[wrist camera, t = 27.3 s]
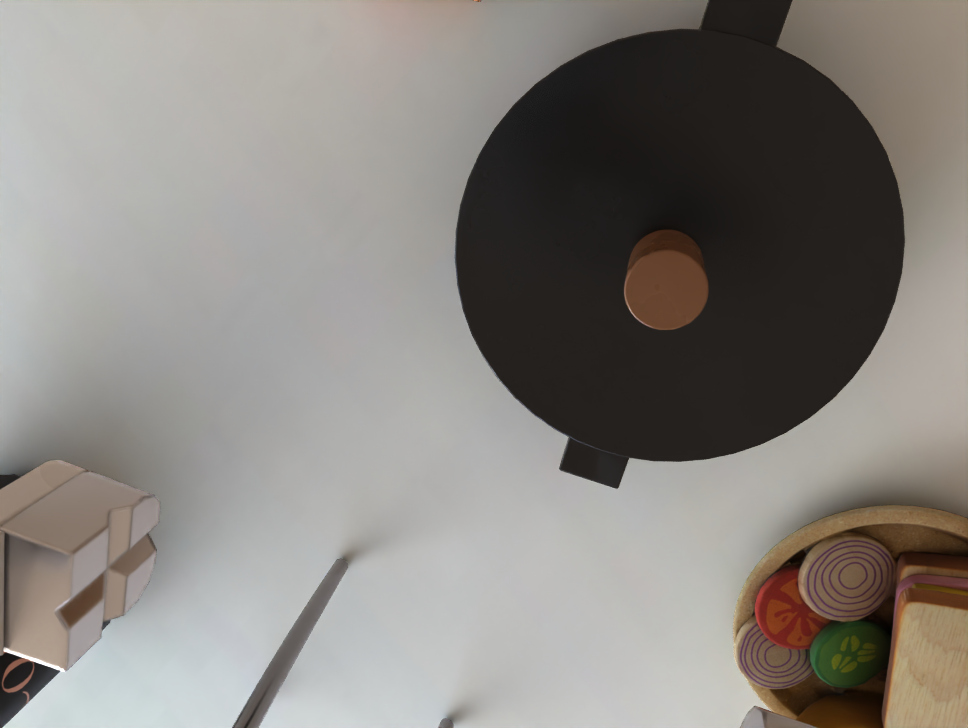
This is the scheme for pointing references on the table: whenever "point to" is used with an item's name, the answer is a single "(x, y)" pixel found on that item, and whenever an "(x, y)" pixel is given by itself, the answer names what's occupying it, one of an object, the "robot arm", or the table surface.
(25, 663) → the coffee jar
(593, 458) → the pan
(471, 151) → the table surface
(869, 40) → the table surface
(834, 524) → the toy sandwich meal
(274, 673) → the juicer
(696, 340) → the lid
